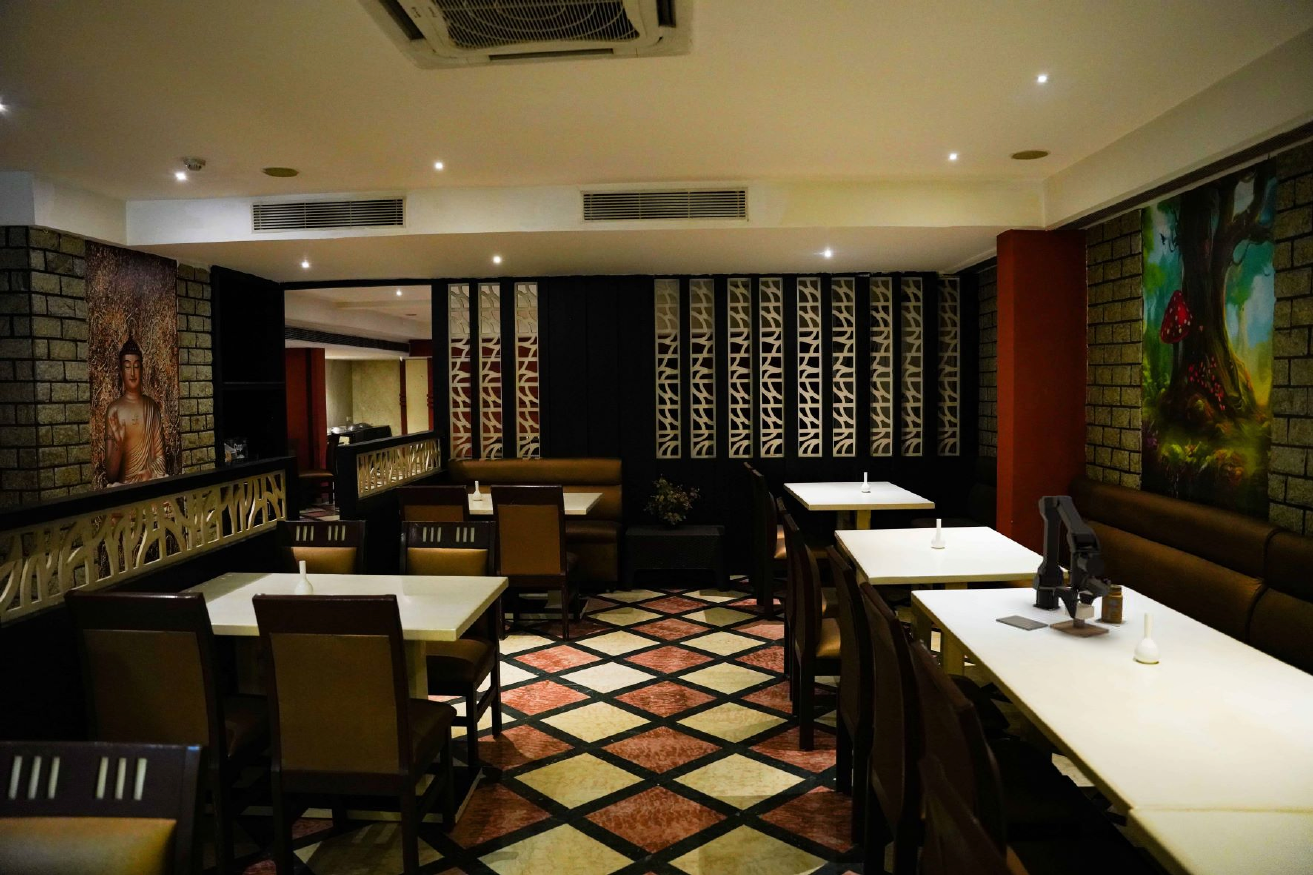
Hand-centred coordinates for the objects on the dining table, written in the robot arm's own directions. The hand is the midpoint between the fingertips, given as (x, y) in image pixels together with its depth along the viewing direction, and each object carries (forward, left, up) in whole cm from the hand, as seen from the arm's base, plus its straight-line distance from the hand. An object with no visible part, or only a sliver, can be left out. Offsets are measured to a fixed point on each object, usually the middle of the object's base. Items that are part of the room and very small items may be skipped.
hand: (1079, 616), depth 250 cm
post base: (0, 0, -4) cm, 4 cm away
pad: (-13, -10, -4) cm, 17 cm away
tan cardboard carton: (0, 0, 0) cm, 0 cm away
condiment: (-1, +18, -4) cm, 19 cm away
